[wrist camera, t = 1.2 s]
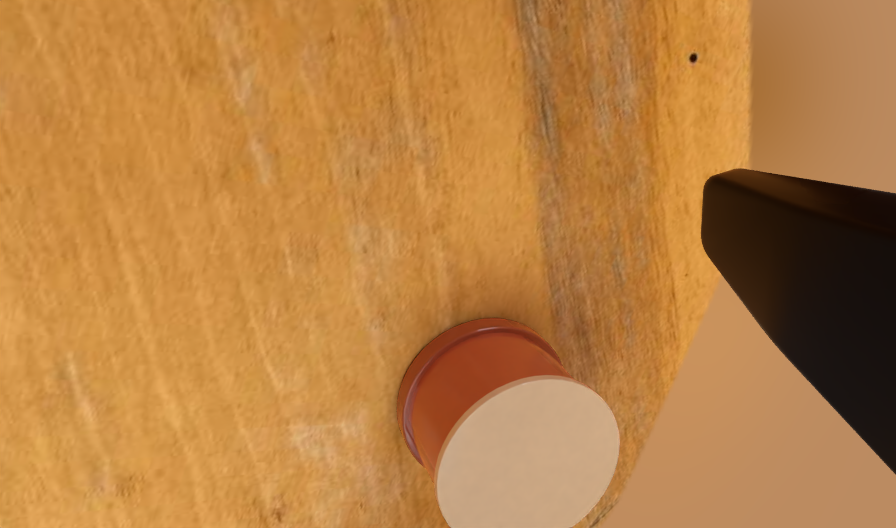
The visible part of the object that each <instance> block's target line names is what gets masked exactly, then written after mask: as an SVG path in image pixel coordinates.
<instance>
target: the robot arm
mask: <svg viewBox="0 0 896 528" xmlns="http://www.w3.org/2000/svg"><path fill="white" fill-rule="evenodd" d="M701 239H702V244H703V247H704V250H705V252H706V254H707V255H708V257H709V258H710V259H711V261H712V262H713V264H714V265H715V266H716V268H717V269H718V270H719V272H720V273H721V274H722V276H723V277H724V278H725V280H726V281H727V282H728V283H729V285H730V286H731V288H732V289H733V290H734V292H735V293H736V294H737V296H738V297H739V298H740V300H741V301H742V302H743V304H744V305H745V306H746V308H747V309H748V310H749V312H750V313H751V314H752V316H753V317H754V318H755V320H756V321H757V322H758V324H759V325H760V326H761V328H762V329H763V330H764V331H765V333H766V334H767V335H768V336H769V338H770V339H771V340H772V341H773V343H774V344H775V345H776V346H777V347H778V348H779V350H780V351H781V352H782V353H783V354H784V355H785V356H786V357H787V358H788V360H789V361H790V362H791V363H792V364H793V365H794V366H795V367H796V368H797V369H798V370H799V371H800V372H801V373H802V375H803V376H804V377H805V378H806V379H807V380H808V381H809V382H810V383H811V384H812V385H813V386H814V387H815V389H816V390H817V391H818V392H819V393H820V394H821V395H822V396H823V397H824V398H825V399H826V400H827V401H828V402H829V404H830V405H831V406H832V407H833V408H834V409H835V410H836V411H837V412H838V413H839V414H840V415H841V416H842V417H843V418H844V420H845V421H846V422H847V423H848V424H849V425H850V426H851V427H852V428H853V429H854V430H855V431H856V433H857V434H858V435H859V436H860V437H861V438H862V439H863V440H864V441H865V442H866V443H867V444H868V445H869V446H870V447H871V449H872V450H873V451H874V452H875V453H876V454H877V455H878V456H879V457H880V458H881V459H882V460H883V461H884V463H885V464H886V465H887V466H888V467H889V468H890V469H891V470H892V471H893V472H894V473H895V474H896V193H890V192H884V191H877V190H871V189H865V188H859V187H853V186H846V185H840V184H834V183H828V182H822V181H816V180H809V179H803V178H797V177H791V176H785V175H778V174H772V173H766V172H760V171H754V170H747V169H733V170H730V171H727V172H723V173H720V174H717V175H714V176H711V177H710V178H709V179H708V180H707V181H706V183H705V185H704V189H703V204H702V224H701Z"/></svg>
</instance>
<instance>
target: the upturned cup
mask: <svg viewBox="0 0 896 528" xmlns="http://www.w3.org/2000/svg"><path fill="white" fill-rule="evenodd" d="M397 419H398V424H399V428H400V431H401V434H402V436H403V438H404V440H405V442H406V444H407V446H408V448H409V450H410V451H411V453H412V455H413V456H414V457H415V459H416V460H417V461H418V462H419V463H420V464H421V465H422V466H423V467H425V468H426V470H427V472H428V474H429V476H430V477H431V479H432V481H433V483H434V490H435V496H436V501H437V504H438V506H439V509H440V511H441V513H442V515H443V517H444V519H445V520H446V522H447V524H448V525H449V526H450V527H451V528H572V527H573V526H575V525H576V524H577V523H578V522H580V521H581V520H582V519H583V518H584V517H585V516H586V515H587V514H588V513H589V512H590V511H591V510H592V509H593V508H594V506H595V505H596V504H597V503H598V501H599V500H600V499H601V497H602V496H603V494H604V493H605V491H606V489H607V487H608V486H609V484H610V481H611V479H612V477H613V475H614V472H615V469H616V465H617V461H618V456H619V446H620V440H619V431H618V426H617V422H616V420H615V417H614V415H613V412H612V411H611V409H610V408H609V406H608V404H607V403H606V402H605V401H604V400H603V399H602V398H601V396H600V395H599V394H598V393H596V392H595V391H594V390H593V389H591V388H590V387H589V386H587V385H585V384H583V383H582V382H580V381H577V380H575V379H574V378H573V377H572V376H571V375H570V374H569V373H568V372H567V371H566V370H565V369H564V368H563V366H562V364H561V362H560V359H559V357H558V356H557V354H556V353H555V351H554V350H553V349H552V347H551V346H550V345H549V344H548V343H547V342H546V341H545V340H544V339H543V338H542V337H541V336H540V335H539V334H538V333H536V332H535V331H534V330H533V329H531V328H529V327H527V326H526V325H524V324H521V323H518V322H516V321H512V320H507V319H499V318H486V319H478V320H473V321H469V322H466V323H463V324H460V325H458V326H455V327H453V328H451V329H449V330H447V331H446V332H444V333H442V334H441V335H439V336H438V337H437V338H435V339H434V340H433V341H431V342H430V343H429V344H428V345H427V346H426V347H425V348H424V349H423V350H422V351H421V352H420V353H419V354H418V356H417V357H416V358H415V359H414V361H413V362H412V364H411V365H410V367H409V368H408V370H407V372H406V374H405V376H404V379H403V381H402V384H401V387H400V391H399V395H398V401H397Z"/></svg>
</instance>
